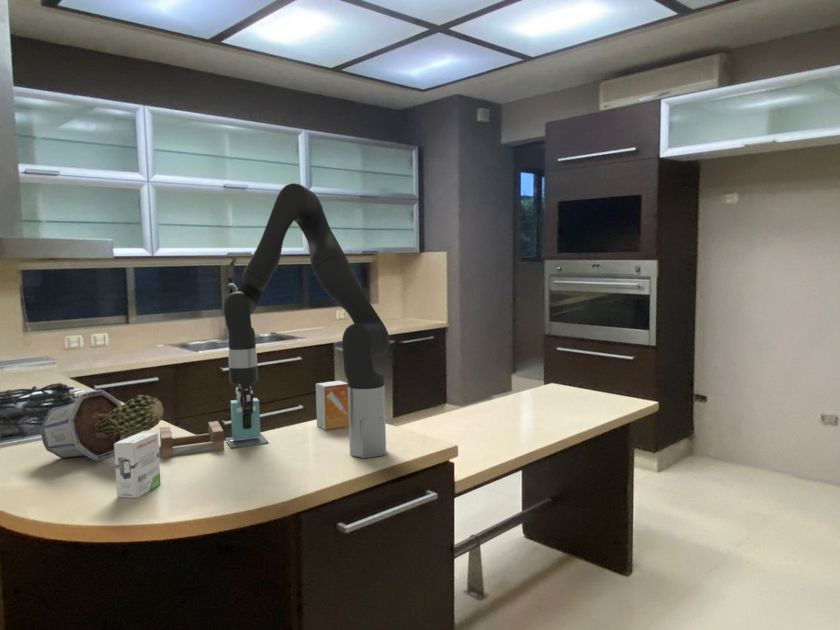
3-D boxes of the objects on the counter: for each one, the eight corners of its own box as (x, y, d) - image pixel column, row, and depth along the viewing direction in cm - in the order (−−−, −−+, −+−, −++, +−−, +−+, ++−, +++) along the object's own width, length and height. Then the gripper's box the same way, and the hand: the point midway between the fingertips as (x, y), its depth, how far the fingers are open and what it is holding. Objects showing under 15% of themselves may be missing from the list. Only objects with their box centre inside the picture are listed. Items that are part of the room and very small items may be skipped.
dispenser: (224, 449, 162) (223, 430, 162) (162, 457, 156) (161, 438, 155) (218, 438, 173) (217, 420, 172) (160, 445, 167) (159, 427, 166)
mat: (268, 443, 167) (268, 441, 167) (230, 448, 163) (230, 447, 163) (261, 434, 176) (261, 433, 176) (225, 439, 172) (224, 438, 172)
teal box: (260, 436, 169) (259, 400, 168) (234, 440, 166) (232, 403, 165) (257, 433, 172) (256, 397, 172) (232, 436, 170) (230, 400, 169)
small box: (325, 430, 179) (324, 386, 178) (316, 426, 184) (315, 383, 183) (350, 426, 183) (349, 383, 182) (340, 422, 189) (339, 380, 188)
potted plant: (21, 408, 151) (126, 380, 144) (77, 396, 168) (172, 371, 162) (38, 477, 150) (143, 453, 144) (92, 458, 168) (188, 436, 162)
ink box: (142, 483, 137) (139, 431, 136) (162, 484, 136) (159, 432, 135) (116, 497, 129) (112, 442, 128) (137, 498, 128) (133, 443, 127)
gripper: (262, 367, 163) (264, 431, 164) (252, 360, 176) (255, 419, 177) (232, 369, 160) (235, 434, 161) (225, 362, 172) (228, 422, 174)
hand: (245, 426), depth 169 cm, fingers closed on teal box, 4 cm apart
